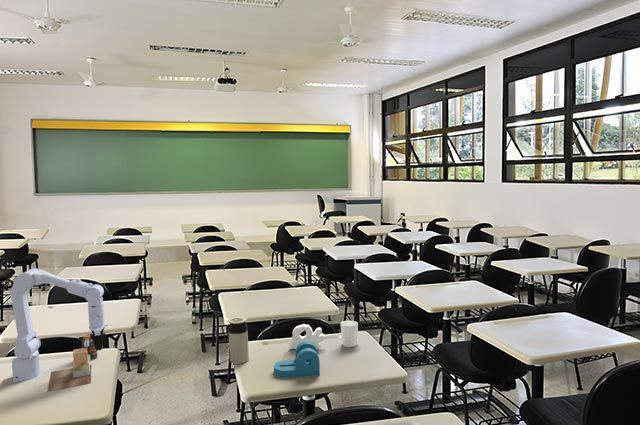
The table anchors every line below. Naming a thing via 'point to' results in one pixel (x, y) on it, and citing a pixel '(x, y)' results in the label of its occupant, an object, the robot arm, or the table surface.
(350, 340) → the white cup
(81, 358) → the block
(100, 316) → the robot arm
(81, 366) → the slab top
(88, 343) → the pill bottle
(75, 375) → the slab bottom
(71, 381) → the board
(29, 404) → the table surface
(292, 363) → the camera mount
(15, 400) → the table surface
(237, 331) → the travel mug
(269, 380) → the table surface
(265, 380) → the table surface
